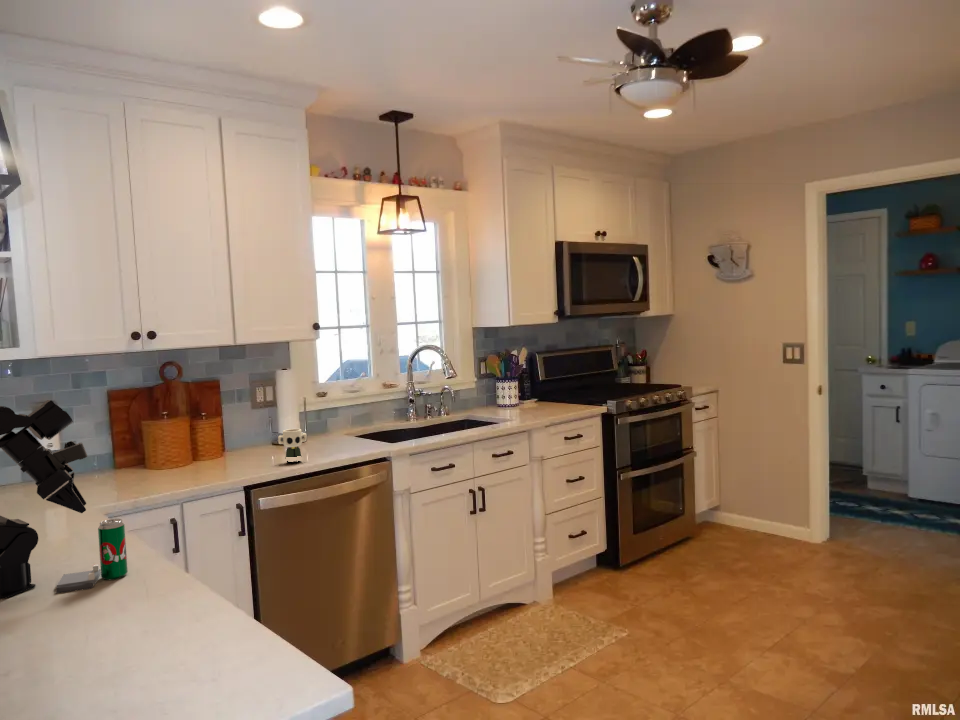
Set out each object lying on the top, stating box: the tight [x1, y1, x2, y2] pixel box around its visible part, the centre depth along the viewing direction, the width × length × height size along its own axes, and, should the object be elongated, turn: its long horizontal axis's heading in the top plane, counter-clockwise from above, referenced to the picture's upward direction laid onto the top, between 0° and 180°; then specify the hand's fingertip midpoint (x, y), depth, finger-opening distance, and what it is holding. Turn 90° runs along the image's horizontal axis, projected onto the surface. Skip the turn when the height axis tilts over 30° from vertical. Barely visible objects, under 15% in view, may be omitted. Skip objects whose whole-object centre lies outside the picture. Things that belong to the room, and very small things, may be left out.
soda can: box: [97, 518, 129, 581], centre depth 151 cm, size 5×5×12 cm
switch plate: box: [56, 564, 101, 588], centre depth 148 cm, size 7×7×2 cm
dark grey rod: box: [55, 583, 94, 594], centre depth 144 cm, size 7×1×1 cm, turn 110°
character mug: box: [277, 428, 307, 458], centre depth 276 cm, size 11×7×13 cm, turn 113°
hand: (84, 508), depth 151 cm, fingers open, 9 cm apart
